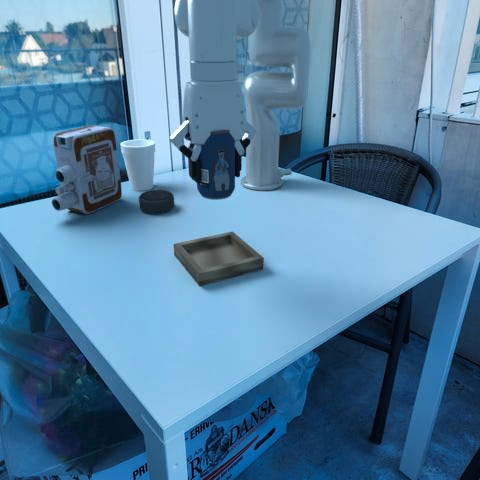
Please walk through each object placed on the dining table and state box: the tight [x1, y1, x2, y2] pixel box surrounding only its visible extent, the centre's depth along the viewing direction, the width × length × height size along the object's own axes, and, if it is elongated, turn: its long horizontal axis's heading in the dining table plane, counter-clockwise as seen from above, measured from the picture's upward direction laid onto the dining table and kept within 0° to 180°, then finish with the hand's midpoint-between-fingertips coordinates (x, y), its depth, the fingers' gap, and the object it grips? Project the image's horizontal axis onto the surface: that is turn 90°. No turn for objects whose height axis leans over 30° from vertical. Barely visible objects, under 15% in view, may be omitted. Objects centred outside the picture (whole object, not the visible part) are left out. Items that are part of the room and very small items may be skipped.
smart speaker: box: [138, 189, 175, 215], centre depth 110 cm, size 9×9×4 cm
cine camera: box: [51, 124, 123, 215], centre depth 106 cm, size 9×19×20 cm, turn 152°
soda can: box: [196, 130, 236, 201], centre depth 76 cm, size 7×7×12 cm
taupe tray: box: [173, 231, 265, 287], centre depth 84 cm, size 13×13×2 cm
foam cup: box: [120, 138, 156, 192], centre depth 122 cm, size 10×9×13 cm
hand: (215, 177), depth 77 cm, fingers closed on soda can, 7 cm apart
